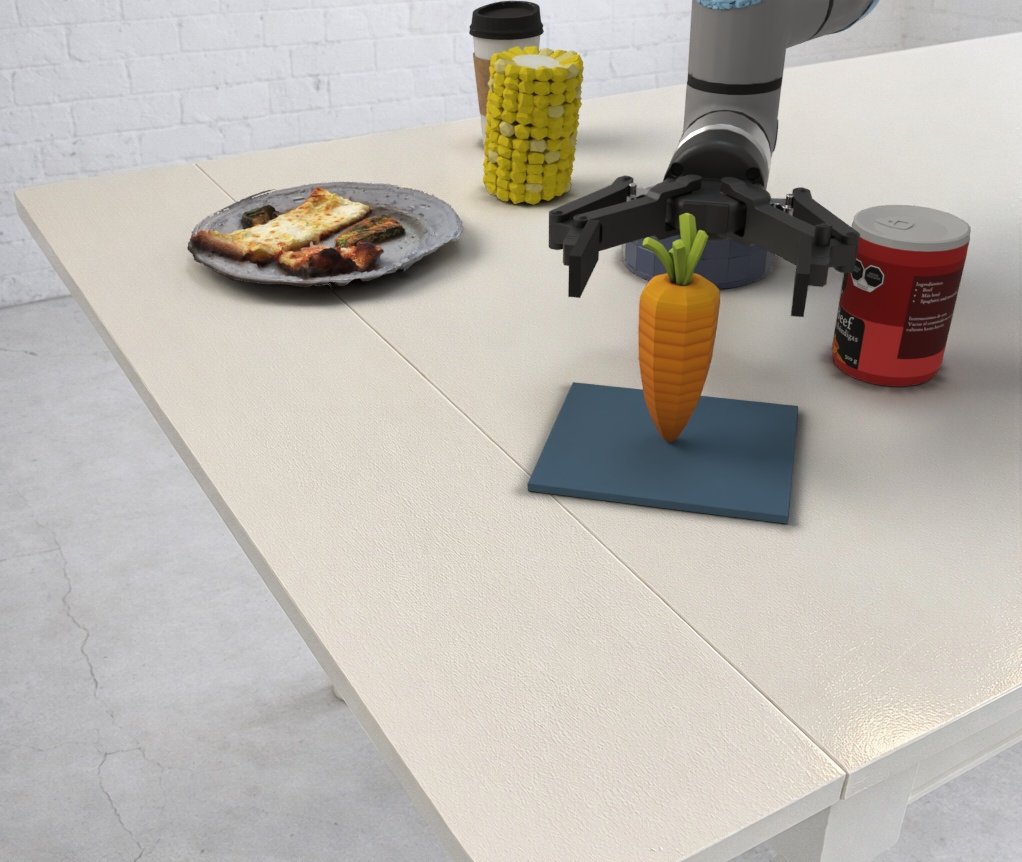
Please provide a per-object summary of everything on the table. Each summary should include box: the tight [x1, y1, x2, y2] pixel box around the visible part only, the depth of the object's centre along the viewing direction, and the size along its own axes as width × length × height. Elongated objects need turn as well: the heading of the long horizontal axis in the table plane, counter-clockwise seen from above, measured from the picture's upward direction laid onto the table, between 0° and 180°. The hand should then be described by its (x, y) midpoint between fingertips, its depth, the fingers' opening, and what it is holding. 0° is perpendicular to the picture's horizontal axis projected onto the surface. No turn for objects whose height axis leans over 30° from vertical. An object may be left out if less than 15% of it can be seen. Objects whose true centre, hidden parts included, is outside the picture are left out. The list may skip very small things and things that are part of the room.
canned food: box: [831, 204, 972, 387], centre depth 81 cm, size 8×8×11 cm
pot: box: [621, 185, 776, 290], centre depth 101 cm, size 14×14×5 cm
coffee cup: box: [468, 0, 545, 147], centre depth 129 cm, size 8×8×15 cm
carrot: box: [637, 213, 721, 443], centre depth 70 cm, size 5×5×15 cm
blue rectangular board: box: [527, 381, 799, 525], centre depth 74 cm, size 16×14×1 cm
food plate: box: [186, 181, 464, 291], centre depth 104 cm, size 25×23×4 cm
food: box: [482, 46, 585, 206], centre depth 114 cm, size 15×12×10 cm
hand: (684, 286), depth 68 cm, fingers open, 13 cm apart
